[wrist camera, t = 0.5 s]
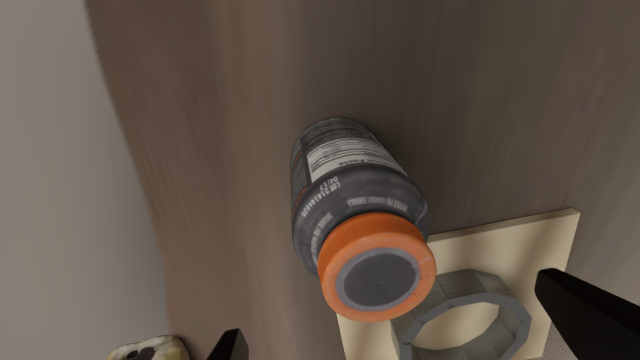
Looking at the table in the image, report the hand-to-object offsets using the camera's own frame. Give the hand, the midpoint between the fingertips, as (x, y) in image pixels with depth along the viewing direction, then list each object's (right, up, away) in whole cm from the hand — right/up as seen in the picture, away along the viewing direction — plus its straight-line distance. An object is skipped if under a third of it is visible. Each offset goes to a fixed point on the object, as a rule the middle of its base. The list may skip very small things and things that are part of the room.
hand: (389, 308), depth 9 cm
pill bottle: (-1, +5, +11) cm, 13 cm away
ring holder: (+10, -8, +19) cm, 23 cm away
